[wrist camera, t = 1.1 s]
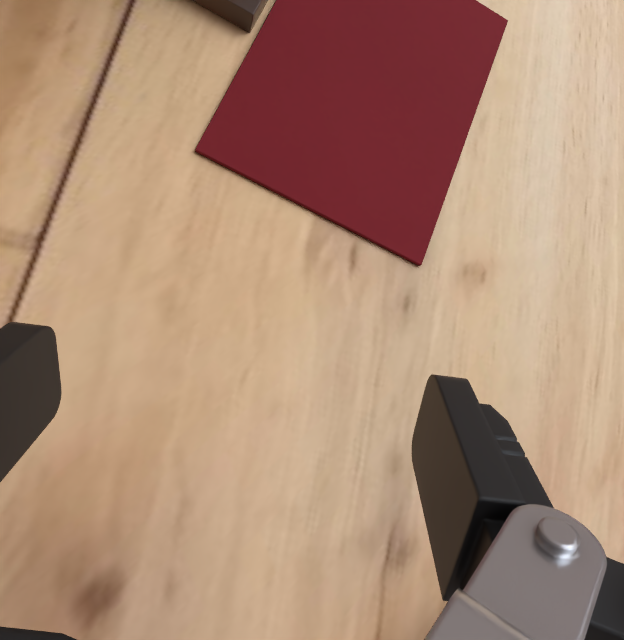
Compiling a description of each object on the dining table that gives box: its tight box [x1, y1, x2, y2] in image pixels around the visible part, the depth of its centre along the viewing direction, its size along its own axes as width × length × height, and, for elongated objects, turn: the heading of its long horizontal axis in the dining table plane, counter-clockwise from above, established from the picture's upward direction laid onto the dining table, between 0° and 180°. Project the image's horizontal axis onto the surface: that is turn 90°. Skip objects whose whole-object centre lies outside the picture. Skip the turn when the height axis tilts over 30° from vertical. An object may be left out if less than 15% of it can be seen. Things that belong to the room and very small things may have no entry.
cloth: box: [195, 0, 508, 266], centre depth 33 cm, size 15×21×1 cm
